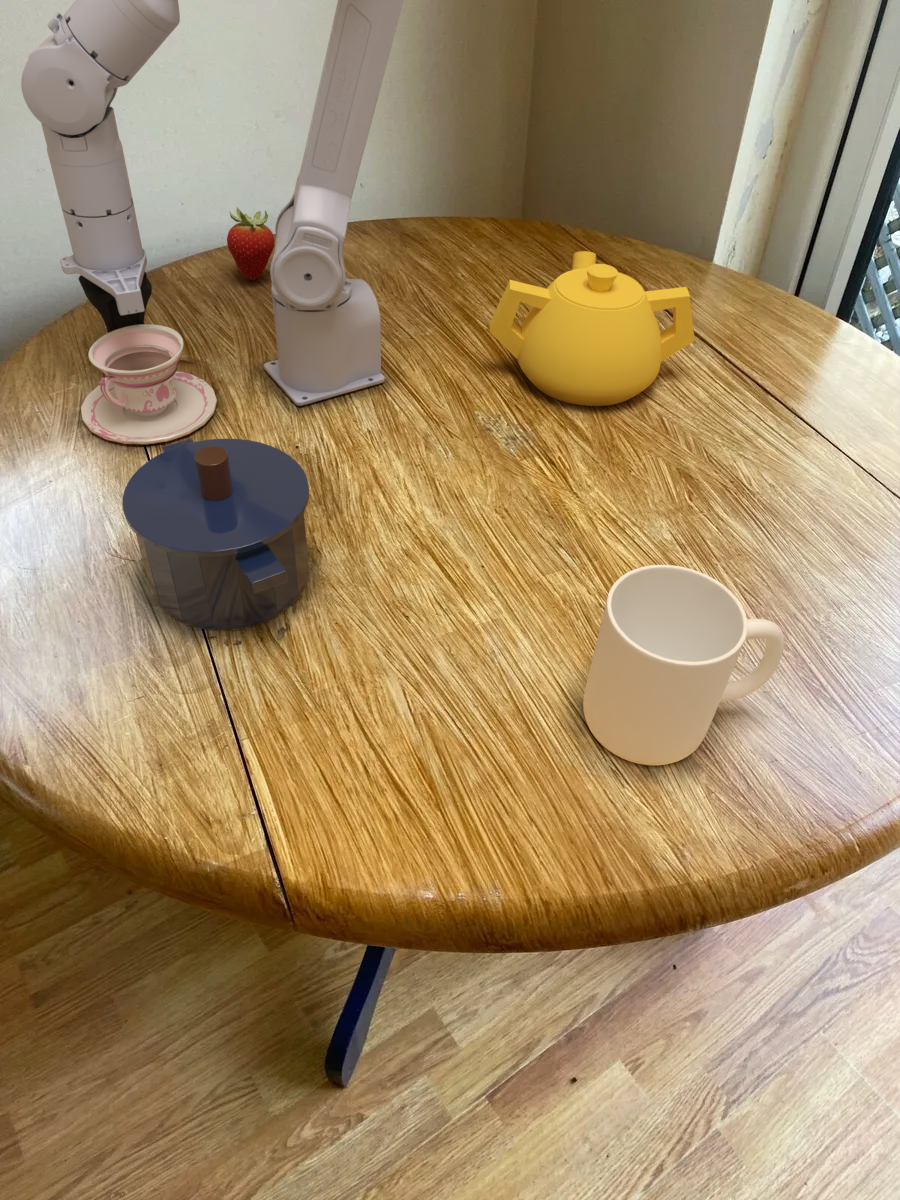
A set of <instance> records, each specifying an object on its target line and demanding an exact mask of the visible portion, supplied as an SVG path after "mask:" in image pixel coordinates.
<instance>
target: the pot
mask: <svg viewBox="0 0 900 1200" xmlns="http://www.w3.org/2000/svg"><path fill="white" fill-rule="evenodd" d="M192 442H195V441H194V439H193V438H188V439H184V440H180V441H178V442H174V443H170V444H167V445H164V446H163V445H162V446H161V452H162V453H163V452H165V451H168V450H170V449H172V448H175V447H178V446H181V445H184V444H188V443H192ZM306 533H307V531H306V521H305V512H304V513H303V515H302V516H301V518H300V519H299V520H298V521H297V523H296V524H295V525H294V526H293V527H292V528H291V529H289V530H288V531H287V532H286V533H285V534H283V535H282V536H280V537H278V538H277V539H275V540H273V541H271V542H269V543H268V544H266V545H263V546H261V547H258V548H256V549H253V550H249V551H246V552H243V553H238V554H233V555H227V556H218V557H193V556H185V555H179V554H174V553H170V552H167V551H164V550H161V549H159V548H156V547H154V546H152V545H150V544H148V543H147V542H145V541H144V540H143V539H141V538H140V537H139V536H138V535H137V534H136V533H135V536H136V540H137V544H138V549H139V552H140V555H141V559H142V563H143V567H144V571H145V574H146V579H147V582H148V586H149V588H150V590H151V593H152V595H153V598H154V601H155V602H156V603H157V605H158V606H159V608H160V609H161V610H162V611H163V612H164V613H165V614H166V615H168V616H169V617H170V618H172V619H174V620H175V621H177V622H179V623H181V624H183V625H186V626H188V627H192V628H196V629H200V630H206V631H219V632H220V631H222V632H223V631H236V630H243V629H247V628H253V627H255V626H259V625H262V624H264V623H266V622H268V621H271V620H272V619H273V620H274V618H276V617H278V616H280V615H281V614H283V613H284V612H286V611H287V610H289V609H290V607H292V606H293V605H294V604H295V603H296V602H297V600H298V599H299V598H300V597H301V595H302V594H303V592H304V590H305V588H306V585H308V584H307V583H308V580H309V576H310V567H309V557H308V545H307V534H306Z"/></svg>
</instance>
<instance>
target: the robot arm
mask: <svg viewBox="0 0 900 1200" xmlns="http://www.w3.org/2000/svg"><path fill="white" fill-rule="evenodd" d="M404 1H405V0H337V3H336V7H335V12H334V16H333V20H332V26H331V29H330V30H331V31H330V34H329V39H328V44H327V48H326V53H325V57H324V61H323V66H322V72H321V74H320V79H319V85H318V89H317V93H316V97H315V98H316V99H315V102H314V107H313V111H312V116H311V120H310V124H309V130H308V134H307V139H306V142H305V148H304V152H303V157H302V161H301V166H300V169H299V173H298V175H297V178H296V181H295V186H294V190H293V194H292V196H291V198H290V200H288V203H287V204H285V206H284V207H282V209H281V210H280V212H279V213H278V216H277V218H276V222H275V243H274V250H273V251H274V253H273V256H272V259H271V263H270V266H269V267H270V268H269V269H270V270H269V276H270V280H271V286H270V288H271V299H272V300H271V301H272V310H273V321H274V332H275V341H276V353H277V359H275V360H271V361H268V362H265V363H264V364H263V370H264V371H265V372H266V373H267V374H268V375H269V376H270V377H271V378H272V380H273V381H274V382H275V383H276V384H277V385H278V386H279V387H280V389H281V390H282V391H283V392H284V394H286V396H288V398H289V399H290V400H291V401H292V402H293V404H294V405H296V406H298V407H303V406H306V405H309V404H313V403H316V402H320V401H323V400H327V399H331V398H334V397H338V396H341V395H344V394H348V393H351V392H355V391H358V390H361V389H362V390H363V389H365V388H370V387H372V386H376V385H380V384H383V383H384V382H385V381H386V376H384V375H383V373H382V323H381V322H382V319H381V312H380V308H379V304H378V300H377V297H376V295H375V293H374V291H373V289H372V288H371V285H369V283H367V281H365V280H364V279H362V278H351V279H350V277H349V278H348V276H347V275H346V274H347V273H346V268H345V246H344V245H345V241H346V235H347V229H348V222H349V216H350V211H351V210H350V209H351V203H352V199H353V194H354V191H355V188H356V183H357V179H358V176H359V171H360V167H361V163H362V161H363V157H364V152H365V148H366V144H367V141H368V137H369V134H370V130H371V127H372V122H373V119H374V114H375V112H376V108H377V103H378V100H379V96H380V92H381V89H382V84H383V80H384V77H385V72H386V69H387V66H388V61H389V58H390V54H391V49H392V46H393V42H394V39H395V35H396V32H397V31H396V30H397V28H398V23H399V19H400V15H401V12H402V8H403V5H404ZM180 13H181V12H180V5H179V0H74V1H73V3H72V4H71V5H70V7H69V8H68V9H67V10H66V12H65V13H64V14H62V13H60V12H58V11H57V12H56V13H54V15H53V16H52V17H51V19H50V20H49V21H48V23H47V27H48V29H49V30H50V31H51V32H52V34H51V35H49V36H47V38H45V40H43V41H42V43H40V45H39V46H38V47H37V48H36V49H34V50H32V51H31V52H29V54H28V57H27V61H26V63H25V64H24V66H23V67H24V68H23V70H22V73H21V78H20V79H21V80H20V86H21V94H22V97H23V99H24V101H25V104H26V105H27V107H28V110H29V111H30V112H31V114H32V115H33V116H34V117H35V119H36V120H38V121H39V123H40V124H41V128H42V133H43V137H44V140H45V144H46V152H47V155H48V160H49V164H50V168H51V172H52V175H53V176H52V177H53V180H54V184H55V187H56V191H57V196H58V200H59V203H60V207H61V211H62V216H63V220H64V224H65V228H66V231H67V235H68V240H69V243H70V247H71V251H72V255H69V256H64V257H61V258H60V260H59V263H60V266H61V269H62V271H63V273H64V274H65V275H75V274H77V275H79V276H78V282H79V283H80V286H81V288H82V290H83V293H84V295H85V297H86V298H87V300H88V301H89V302H90V304H91V305H92V306H93V308H95V309H96V310H97V312H98V314H100V316H101V318H102V319H103V322H104V323H105V326H106V328H107V332H108V333H110V332H112V331H114V330H117V329H120V328H124V327H128V326H133V325H142V324H145V317H146V309H147V306H148V303H149V300H150V298H151V296H152V293H153V285H152V283H151V281H150V279H149V278H148V277H147V273H146V268H147V263H148V257H147V253H146V251H145V249H144V247H143V245H142V244H143V243H142V239H141V234H140V229H139V224H138V220H137V219H138V218H137V214H136V213H137V212H136V208H135V204H134V203H135V202H134V199H133V193H132V188H131V183H130V179H129V174H128V168H127V164H126V158H125V153H124V147H123V144H122V141H121V139H120V135H119V129H118V125H117V120H116V115H115V109H114V107H112V106H111V104H112V102H113V101H114V99H115V97H116V95H117V93H118V88H122V87H125V86H127V85H128V84H129V83H130V82H131V81H132V79H133V78H134V77H135V76H136V75H137V74H138V73H139V71H140V70H141V69H142V68H143V67H144V66H145V65H146V64H147V62H148V61H149V60H150V59H151V58H152V56H153V55H154V54H155V52H156V51H157V50H158V49H159V48H160V47H161V45H163V43H164V42H165V41H166V40H167V39H168V37H169V36H170V35H171V34H172V33H173V32H174V31H175V29H176V28H177V27H178V26H179V25H180V21H181V19H180V18H181V14H180Z"/></svg>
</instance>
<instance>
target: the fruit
mask: <svg viewBox="0 0 900 1200" xmlns="http://www.w3.org/2000/svg"><path fill="white" fill-rule="evenodd" d="M228 212H229V215H230V218H231V219H232V220H233V221H234V222H237V223H235V224H234V225H233V226H231V228H229V230H228V232H227V236H226V244H227V248H228V250H229V252H230V254H231V255H232V257H233V260H234V262H235V264H236V267H237V268H238V270H239V271H240V273H241V274H242V276H243V277H245V278H246V279H247V280H249V281H256V280H258V279H259V278H261V276H263V275H262V274H263V273H264V271H265V270H266V267H267V265H268V262H269V260H270V257H271V255H272V253H273V251H274V249H275V243H276V239H275V236H274V234H273V231H272V230H271V228H269V227H268V226H267V225H266V222H267V221H268V219H269V214H268V213H267V211H266V210H264V216H263V218H261V215H262V213H261V210H259V211H257V212H256V213H255V214H254V215H253V219H252V217H250V216H249V215H248V214H247V213H246V212H245V213H243V212H242V211H241V210H240V208H239V207H236V216H235V215H234V214H232V212H231V210H229V211H228Z"/></svg>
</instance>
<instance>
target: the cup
mask: <svg viewBox="0 0 900 1200" xmlns="http://www.w3.org/2000/svg"><path fill="white" fill-rule="evenodd" d="M761 639H763V640H764V639H765V647H764V653H763V654H762V655H763V656H762V658H761V660H760V661H759V663H758V665H757V666H756V667H755V668H754V669H753V670H752V671H751V673H749V674H748V675H746V676H745V677H742V678H741V679H737V680H733V681H730V678H731V676H732V673H733V670H734V668H735V666H736V664H737V661H738V659H739V656H740V654H741V651H742V649H743V647H744V644H745V642H746V641H751V640H761ZM784 649H785V637H784V633H783V630H782V629H781V627H780V626H779V625H778V624H777V623H775V622H774V621H772V620H769V619H765V618H747V614H746V611H745V609H744V607H743V605H742V603H741V602H740V600H739V598H737V596H736V595H735V594H734V593H733V592H732V591H731V590H730V589H729V588H728V587H726V585H724V584H722V582H720V581H718V580H717V579H715V578H713V577H711V576H710V575H708V574H706V573H703V572H701V571H698V570H695V569H692V568H689V567H684V566H679V565H672V564H651V565H645V566H641V567H638V568H634V569H632V570H630V571H627V572H625V574H623V575H622V576H620V577H619V578H618V579H617V580H616V581H614V583H613V584H612V586H611V587H610V589H609V591H608V593H607V597H606V601H605V605H604V609H603V614H602V618H601V621H600V626H599V630H598V633H597V639H596V643H595V646H594V651H593V655H592V659H591V663H590V667H589V671H588V675H587V681H586V684H585V688H584V693H583V694H584V695H583V699H582V700H583V701H582V702H583V703H582V706H583V707H582V710H583V715H584V720H585V722H586V725H587V726H588V729H589V730H590V732H591V734H592V735H593V737H594V738H595V739H596V741H598V743H600V745H602V746H603V747H604V748H605V749H606V750H607V751H608V752H610V753H612V754H613V755H615V756H617V757H619V758H620V759H622V760H626V761H628V762H631V763H633V764H638V765H644V766H663V765H664V766H665V765H669V764H673V763H677V762H679V761H681V760H684V759H685V758H687V757H689V756H690V755H692V754H693V753H694V752H695V751H697V749H698V748H699V747H700V745H701V744H702V742H703V741H704V739H705V737H706V736H707V734H708V732H709V729H710V727H711V725H712V722H713V719H714V717H715V714H716V712H717V709H718V707H719V705H720V703H724V702H725V703H726V702H729V701H734V700H735V701H736V700H739V699H743V698H745V697H747V696H749V695H751V694H753V693H755V692H756V691H758V690H760V689H761V688H762V687H764V686H765V685H766V684H767V682H769V680H770V679H771V678H772V676H773V675H774V674H775V672H776V670H777V669H778V667H779V664H780V662H781V659H782V656H783V653H784Z"/></svg>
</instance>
